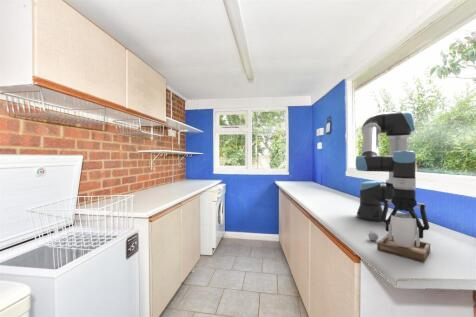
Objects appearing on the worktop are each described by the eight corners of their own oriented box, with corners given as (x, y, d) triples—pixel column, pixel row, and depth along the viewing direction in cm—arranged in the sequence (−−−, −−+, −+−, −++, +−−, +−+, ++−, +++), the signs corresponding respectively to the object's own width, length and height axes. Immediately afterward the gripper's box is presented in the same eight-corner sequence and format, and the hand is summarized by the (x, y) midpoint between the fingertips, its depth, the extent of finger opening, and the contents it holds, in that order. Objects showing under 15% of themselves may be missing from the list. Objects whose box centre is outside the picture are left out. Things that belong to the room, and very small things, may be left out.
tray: (387, 240, 101) (387, 234, 101) (430, 250, 90) (430, 243, 90) (377, 249, 91) (377, 242, 91) (424, 262, 80) (424, 254, 80)
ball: (369, 238, 104) (369, 229, 104) (379, 240, 101) (379, 232, 101) (366, 240, 101) (366, 231, 101) (376, 242, 98) (376, 234, 98)
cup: (423, 249, 85) (423, 219, 85) (397, 248, 87) (397, 218, 87) (409, 241, 94) (409, 213, 94) (386, 239, 96) (386, 212, 96)
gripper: (371, 186, 96) (371, 237, 96) (437, 192, 80) (437, 253, 80) (377, 184, 101) (377, 233, 101) (439, 189, 85) (439, 247, 85)
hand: (403, 242), depth 91 cm, fingers closed on cup, 9 cm apart
